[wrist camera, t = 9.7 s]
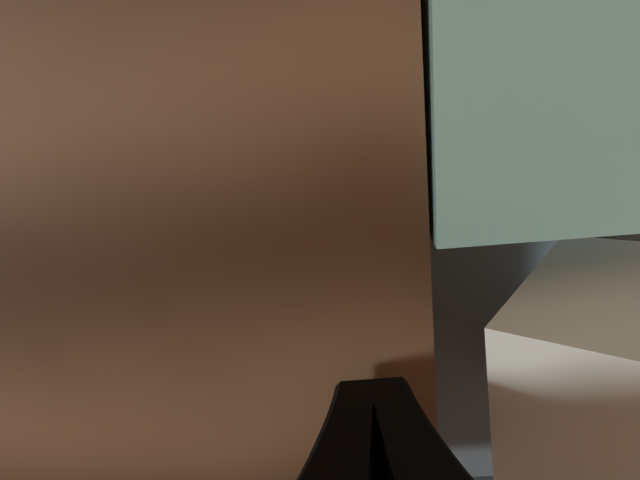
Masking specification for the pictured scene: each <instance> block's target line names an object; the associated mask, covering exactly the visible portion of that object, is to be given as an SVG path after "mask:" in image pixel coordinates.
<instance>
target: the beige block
mask: <svg viewBox="0 0 640 480" xmlns="http://www.w3.org/2000/svg"><path fill="white" fill-rule="evenodd" d="M484 332H485V348H486V364H487V381H488V397H489V413H490V430H491V446H492V463H493V479H494V480H640V241H629V240H617V239H604V238H592V237H590V238H577V239H564V240H558V242H557V243H556V244H555V245H554V246H553V248H552V249H551V250H550V251H549V252H548V253H547V255H546V256H545V257H544V258H543V259H542V261H541V262H540V263H539V264H538V265H537V266H536V268H535V269H534V270H533V271H532V272H531V274H530V275H529V276H528V277H527V278H526V279H525V281H524V282H523V283H522V284H521V285H520V287H519V288H518V289H517V290H516V291H515V292H514V294H513V295H512V296H511V297H510V298H509V299H508V301H507V302H506V303H505V304H504V305H503V307H502V308H501V309H500V310H499V311H498V312H497V314H496V315H495V316H494V317H493V318H492V320H491V321H490V322H489V323H488V324H487V325H486V327H485V328H484Z"/></svg>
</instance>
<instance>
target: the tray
mask: <svg viewBox="0 0 640 480" xmlns="http://www.w3.org/2000/svg"><path fill="white" fill-rule="evenodd" d="M592 238H604V239H617V240H629V241H640V234H630V235H617V236H604V237H592ZM557 242H558V240H551V241H538V242H525V243H512V244H499V245H486V246H473V247H460V248H447V249H436V247H435V245H434V243H433V241H432V239H431V238H430V255H431V281H432V306H433V331H434V357H435V382H436V407H437V432H438V433H439V435H440V436H441V437H442V439H443V440H444V442H445V443H446V444H447V446H448V447H449V448H450V450H451V451H452V452H453V454H454V455H455V456H456V458H457V459H458V460H459V461H460V463H461V464H462V465H463V467H464V468H465V469H466V470H467V472H468V473H469V474H470V475H471V476H472V478H473V479H474V480H494V479H493V463H492V446H491V430H490V413H489V397H488V381H487V364H486V348H485V332H484V328H485V327H486V325H487V324H488V323H489V322H490V321H491V320H492V318H493V317H494V316H495V315H496V314H497V312H498V311H499V310H500V309H501V308H502V307H503V305H504V304H505V303H506V302H507V301H508V299H509V298H510V297H511V296H512V295H513V294H514V292H515V291H516V290H517V289H518V288H519V287H520V285H521V284H522V283H523V282H524V281H525V279H526V278H527V277H528V276H529V275H530V274H531V272H532V271H533V270H534V269H535V268H536V266H537V265H538V264H539V263H540V262H541V261H542V259H543V258H544V257H545V256H546V255H547V253H548V252H549V251H550V250H551V249H552V248H553V246H554V245H555V244H556V243H557Z"/></svg>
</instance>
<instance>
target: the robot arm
mask: <svg viewBox="0 0 640 480" xmlns="http://www.w3.org/2000/svg"><path fill="white" fill-rule="evenodd" d="M296 480H474V479H473V478H472V476H471V475H470V474H469V473H468V472H467V470H466V469H465V468H464V467H463V465H462V464H461V463H460V461H459V460H458V459H457V458H456V456H455V455H454V454H453V452H452V451H451V450H450V448H449V447H448V446H447V444H446V443H445V442H444V440H443V439H442V437H441V436H440V435H439V433H438V432H437V431H436V429H435V428H434V426H433V425H432V423H431V422H430V420H429V419H428V417H427V416H426V414H425V412H424V411H423V409H422V408H421V406H420V404H419V403H418V401H417V399H416V398H415V396H414V394H413V392H412V390H411V388H410V386H409V384H408V381H406V380H405V379H404V378H403V377H391V378H377V379H363V380H349V381H340V382H339V383H338V384H337V385H336V386H335V390H334V395H333V398H332V401H331V404H330V407H329V410H328V413H327V416H326V418H325V421H324V423H323V426H322V428H321V430H320V433H319V435H318V437H317V439H316V441H315V444H314V446H313V448H312V450H311V452H310V454H309V457H308V459H307V461H306V463H305V465H304V467H303V468H302V470H301V472H300V474H299V476H298V478H297V479H296Z"/></svg>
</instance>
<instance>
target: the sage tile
mask: <svg viewBox="0 0 640 480" xmlns="http://www.w3.org/2000/svg"><path fill="white" fill-rule="evenodd" d="M420 3H421V28H422V53H423V78H424V104H425V129H426V154H427V180H428V205H429V230H430V238H431V239H432V241H433V243H434V245H435V247H436V249H447V248H460V247H473V246H486V245H499V244H512V243H525V242H538V241H551V240H564V239H577V238H590V237H604V236H617V235H630V234H640V0H420Z"/></svg>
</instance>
